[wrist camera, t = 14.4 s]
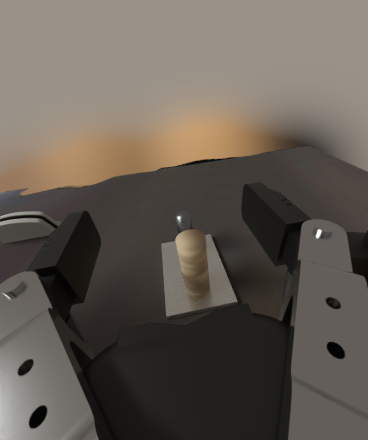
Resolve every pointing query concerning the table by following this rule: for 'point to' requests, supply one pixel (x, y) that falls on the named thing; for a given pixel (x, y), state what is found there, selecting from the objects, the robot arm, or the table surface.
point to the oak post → (194, 263)
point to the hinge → (25, 226)
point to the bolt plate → (174, 282)
